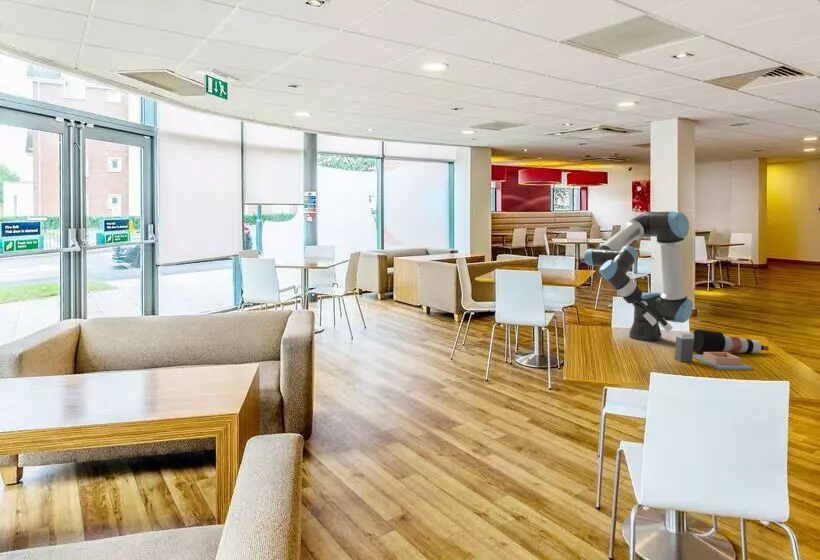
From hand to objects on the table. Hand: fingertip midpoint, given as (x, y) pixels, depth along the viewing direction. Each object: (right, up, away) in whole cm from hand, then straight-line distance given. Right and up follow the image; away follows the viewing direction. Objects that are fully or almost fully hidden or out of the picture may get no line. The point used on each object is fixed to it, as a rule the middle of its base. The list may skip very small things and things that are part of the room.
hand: (662, 326), depth 234 cm
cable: (+39, -14, +16) cm, 44 cm away
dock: (+24, -15, -2) cm, 28 cm away
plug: (+10, -15, +2) cm, 18 cm away
